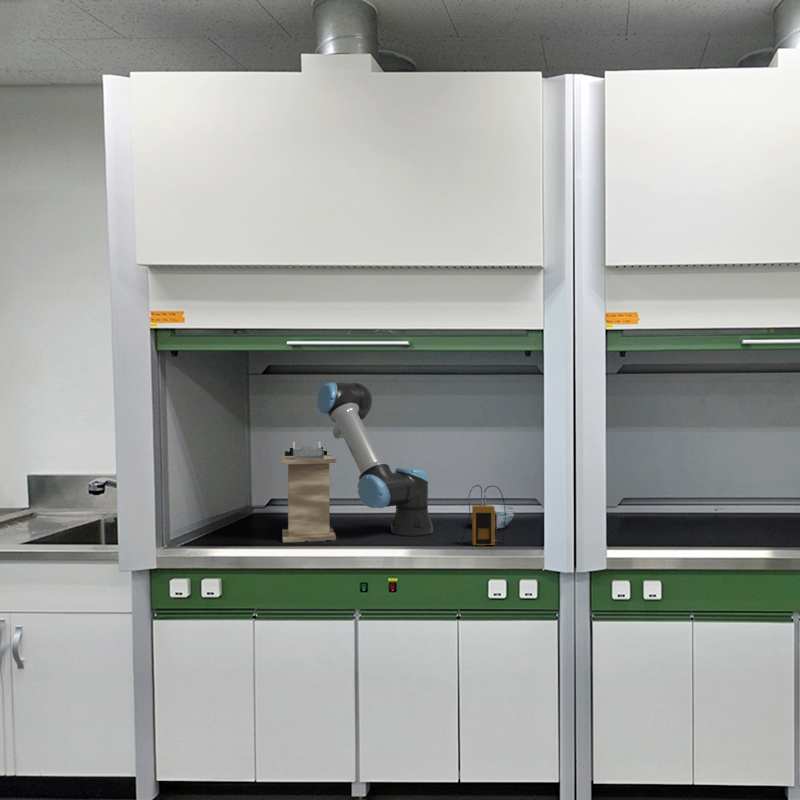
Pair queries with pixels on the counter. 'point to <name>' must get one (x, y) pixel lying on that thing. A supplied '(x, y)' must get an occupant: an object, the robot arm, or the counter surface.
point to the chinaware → (503, 514)
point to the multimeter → (484, 522)
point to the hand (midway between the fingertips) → (306, 445)
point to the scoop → (308, 453)
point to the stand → (308, 500)
